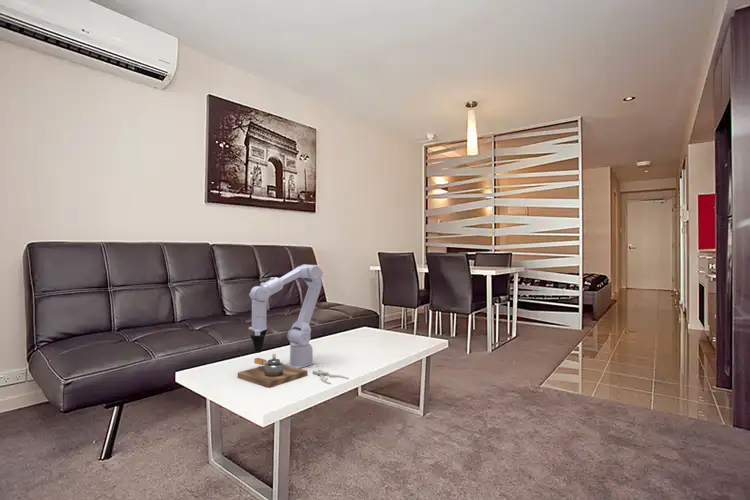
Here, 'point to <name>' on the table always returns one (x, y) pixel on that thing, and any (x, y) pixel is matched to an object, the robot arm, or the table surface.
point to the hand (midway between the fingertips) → (259, 350)
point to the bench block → (269, 381)
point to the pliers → (326, 375)
